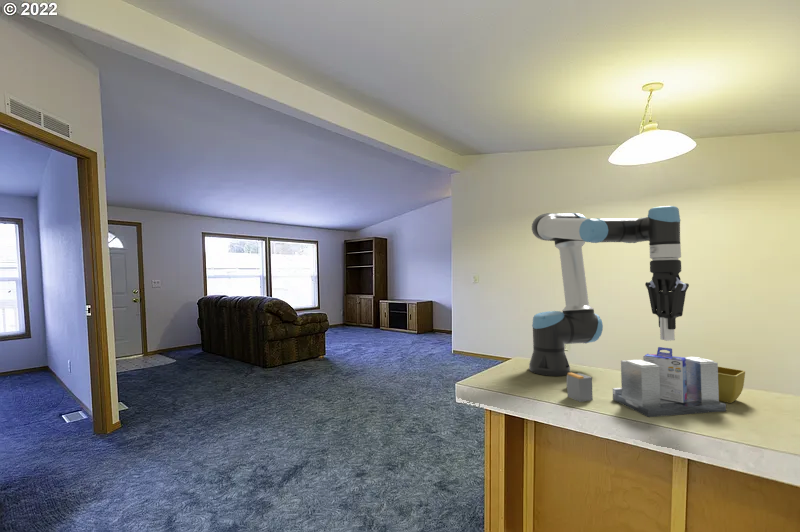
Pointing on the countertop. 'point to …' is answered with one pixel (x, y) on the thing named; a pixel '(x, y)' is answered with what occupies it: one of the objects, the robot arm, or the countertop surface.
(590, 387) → the block
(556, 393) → the countertop surface
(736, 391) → the flower pot
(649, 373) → the rail board
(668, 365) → the ink cartridge box
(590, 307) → the robot arm
